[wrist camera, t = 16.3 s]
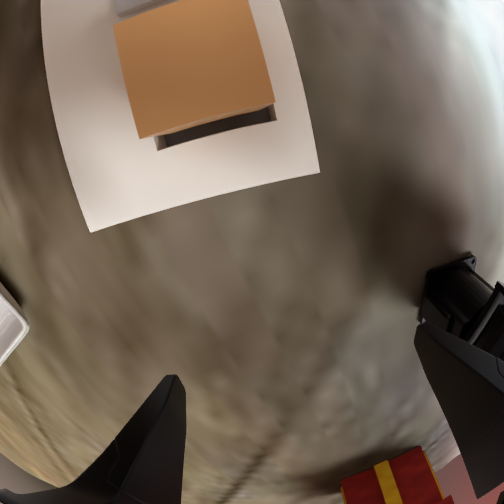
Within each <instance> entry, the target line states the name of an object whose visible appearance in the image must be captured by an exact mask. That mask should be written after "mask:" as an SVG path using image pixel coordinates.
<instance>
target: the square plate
mask: <svg viewBox="0 0 504 504" xmlns="http://www.w3.org/2000/svg"><path fill="white" fill-rule="evenodd" d="M29 328H30V326H29V323H28V321H27V318H26V316H25V314H24V312H23V311H22V309H21V308H20V306H19V305H18V304H17V302H16V301H15V300H14V298H13V297H12V296H11V295H10V293H9V292H8V291H7V290H6V288H5V287H4V286H3V285H2V283H1V282H0V366H1V365H2V363H3V362H4V361H5V360H6V358H7V357H8V356H9V355H10V354H11V352H12V351H13V350H14V349H15V348H16V347H17V345H18V344H19V343H20V342H21V341H22V339H23V338H24V337H25V336H26V334H27V333H28V331H29Z"/></svg>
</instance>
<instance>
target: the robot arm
mask: <svg viewBox="0 0 504 504" xmlns="http://www.w3.org/2000/svg"><path fill="white" fill-rule="evenodd" d="M475 266H476V257H475V256H473V255H471V256H468V257H465V258H463V259H460V260H457V261H454V262H452V263H449V264H446V265H443V266H440V267H437V268H434V269H431V270H429V271H428V273H427V275H426V284H425V292H424V299H423V306H422V312H421V319H420V324H419V325H418V326H417V329H416V334H415V338H414V345H415V348H416V351H417V353H418V356H419V358H420V361H421V364H422V366H423V369H424V372H425V374H426V377H427V379H428V381H429V383H430V385H431V387H432V389H433V391H434V393H435V395H436V398H437V400H438V402H439V404H440V406H441V408H442V410H443V413H444V415H445V417H446V419H447V421H448V424H449V426H450V428H451V431H452V433H453V435H454V438H455V440H456V443H457V445H458V447H459V450H460V452H461V455H462V457H463V461H464V463H465V466H466V469H467V471H468V474H469V477H470V480H471V482H472V485H473V489H474V492H475V494H476V497H477V499H479V498H481V497H482V496H484V495H485V494H487V493H488V492H490V491H491V490H493V489H494V488H496V487H497V486H499V485H500V484H501V483H502V482H504V284H503V283H501V282H499V281H497V283H496V285H495V288H493V287H492V286H491V285H490V284H488V283H487V282H486V281H485V280H484V279H483V278H481V277H480V276H479V275H478V274H477V273H475V272H474V271H475ZM431 275H432V276H431ZM185 439H186V392H185V388H184V386H183V384H182V383H181V381H180V379H179V377H178V376H177V375H175V374H174V375H166V376H165V377H164V378H163V379H162V380H161V382H160V383H159V384H158V385H157V387H156V388H155V389H154V390H153V392H152V393H151V394H150V395H149V397H148V398H147V399H146V400H145V402H144V403H143V404H142V405H141V407H140V408H139V409H138V410H137V412H136V413H135V414H134V415H133V416H132V418H131V419H130V420H129V421H128V423H127V424H126V425H125V426H124V428H123V429H122V430H121V431H120V432H119V434H118V435H117V436H116V437H115V440H113V441H112V442H111V443H110V445H109V446H108V447H107V448H106V449H105V450H104V452H103V453H102V454H101V455H100V456H99V457H98V458H97V459H96V460H95V461H94V462H93V463H92V464H91V465H90V466H89V467H88V468H87V469H86V470H85V471H84V472H83V473H82V474H81V475H80V476H79V477H78V478H77V479H75V480H74V481H73V482H72V483H70V484H68V485H67V486H64V487H61V488H56V489H52V490H46V491H41V492H36V493H29V494H15V493H13V492H11V491H9V490H8V489H1V490H0V502H1V503H3V504H181V492H182V477H183V463H184V451H185ZM497 504H504V490H503V491H502V492H501V493H500V495H499V498H498V501H497Z"/></svg>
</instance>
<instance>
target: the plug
mask: <svg viewBox="0 0 504 504" xmlns="http://www.w3.org/2000/svg"><path fill="white" fill-rule="evenodd" d="M113 28H114V34H115V39H116V44H117V49H118V54H119V59H120V64H121V68H122V73H123V77H124V82H125V86H126V90H127V94H128V98H129V102H130V106H131V110H132V114H133V118H134V121H135V125H136V129H137V133H138V136H139V139H144V138H149V137H154V136H159V135H165V134H171V133H175V132H178V131H181V130H184V129H188V128H191V127H194V126H198V125H201V124H205V123H209V122H212V121H216V120H220V119H224V118H228V117H232V116H236V115H241V114H245V113H250V112H254V111H259V110H261V109H263V108H265V107H267V106H269V105H271V104H273V103H275V102H276V101H275V97H274V93H273V89H272V85H271V81H270V77H269V73H268V69H267V65H266V61H265V58H264V54H263V50H262V47H261V43H260V40H259V36H258V32H257V29H256V26H255V22H254V19H253V15H252V12H251V9H250V5H249V2H248V0H181V1H177V2H174V3H171V4H167V5H164V6H161V7H158V8H155V9H153V10H150V11H147V12H144V13H142V14H139V15H136V16H134V17H131V18H129V19H127V20H124V21H122V22H120V23H117V24H115V25H113Z"/></svg>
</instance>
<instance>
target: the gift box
mask: <svg viewBox="0 0 504 504" xmlns="http://www.w3.org/2000/svg"><path fill="white" fill-rule="evenodd" d="M340 481H341V484H342V487H341V492H342V496H343V500H344V504H454V501H453V499H452V496H451V495H450V496H448V497H446V498H444V496H443V493H442V491H441V488H440V486H439V484H438V481H437V479H436V476H435V474H434V471H433V469H432V467H431V464H430V462H429V460H428V457H427V455H426V453H425V452H423V451H422V448H421V446H419V447H417V448H415V449H413V450H411V451H409V452H407V453H405V454H403V455H401V456H399V457H397V458H394V459H392V460H390V461H388V460H386V461H384V462H382V463H379V464H377V465H374V468H371V469H369V470H366V471H364V472H361V473H359V474H356V475H353V476H350V477H348V478H345V479H342V480H340Z"/></svg>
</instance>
